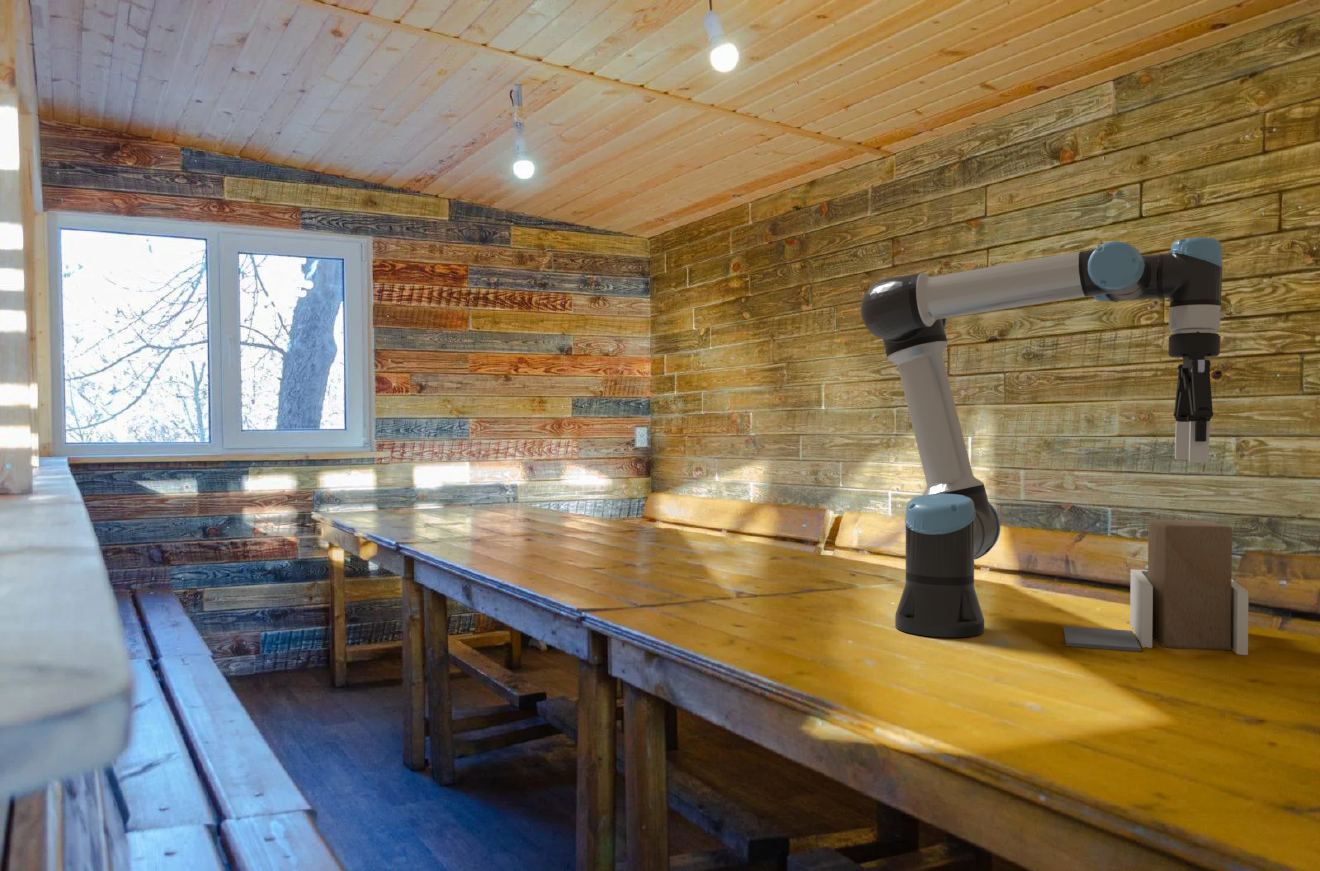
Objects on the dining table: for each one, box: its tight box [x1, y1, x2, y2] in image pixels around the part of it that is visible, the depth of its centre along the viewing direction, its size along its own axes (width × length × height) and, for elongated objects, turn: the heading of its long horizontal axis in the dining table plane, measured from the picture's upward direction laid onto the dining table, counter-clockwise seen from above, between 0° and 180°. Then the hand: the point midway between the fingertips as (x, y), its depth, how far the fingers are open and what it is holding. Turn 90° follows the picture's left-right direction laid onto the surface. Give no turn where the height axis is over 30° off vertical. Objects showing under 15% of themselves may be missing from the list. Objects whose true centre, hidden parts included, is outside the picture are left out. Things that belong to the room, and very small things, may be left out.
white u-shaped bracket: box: [1129, 568, 1249, 656], centre depth 166 cm, size 15×20×10 cm
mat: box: [1062, 625, 1142, 652], centre depth 164 cm, size 11×14×1 cm
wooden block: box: [1147, 519, 1233, 651], centre depth 162 cm, size 10×10×20 cm
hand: (1190, 461), depth 163 cm, fingers open, 13 cm apart
